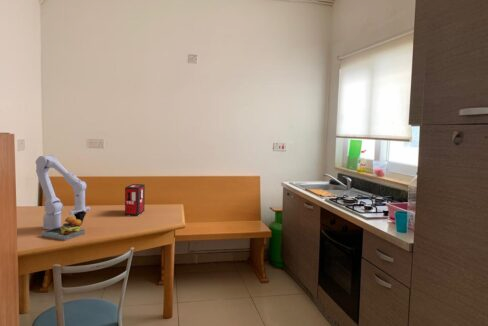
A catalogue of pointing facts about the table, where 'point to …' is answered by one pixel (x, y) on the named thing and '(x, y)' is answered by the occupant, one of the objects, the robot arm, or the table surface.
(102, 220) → the table surface
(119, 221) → the table surface
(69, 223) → the cheeseburger
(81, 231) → the rack
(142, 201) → the cleaning product box
